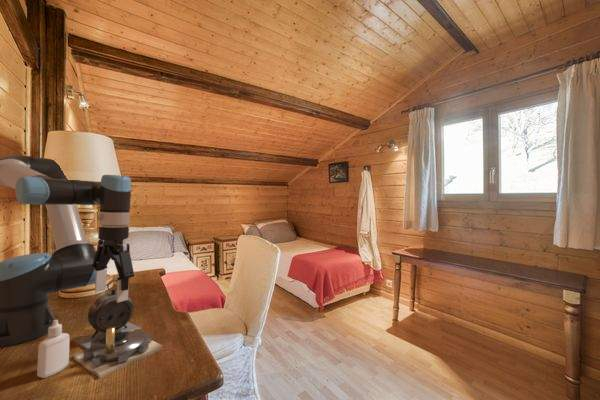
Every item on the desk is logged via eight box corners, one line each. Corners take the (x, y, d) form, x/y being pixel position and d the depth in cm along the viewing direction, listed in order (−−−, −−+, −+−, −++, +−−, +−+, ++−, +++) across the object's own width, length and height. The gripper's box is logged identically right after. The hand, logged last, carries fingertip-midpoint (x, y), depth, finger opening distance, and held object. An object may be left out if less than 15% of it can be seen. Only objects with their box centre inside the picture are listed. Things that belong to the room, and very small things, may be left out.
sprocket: (83, 374, 60) (85, 339, 60) (82, 346, 71) (84, 317, 71) (157, 351, 69) (158, 321, 70) (145, 330, 81) (146, 304, 81)
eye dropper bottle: (70, 369, 63) (72, 319, 63) (37, 381, 59) (39, 327, 59) (67, 362, 66) (69, 314, 66) (35, 372, 62) (38, 321, 62)
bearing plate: (72, 357, 68) (72, 354, 68) (133, 333, 81) (134, 330, 81) (99, 378, 60) (99, 374, 60) (162, 348, 73) (162, 345, 73)
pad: (75, 342, 75) (75, 339, 75) (128, 323, 87) (128, 321, 87) (88, 350, 71) (88, 348, 71) (141, 330, 83) (141, 327, 83)
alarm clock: (128, 325, 85) (130, 274, 85) (135, 330, 82) (137, 278, 82) (86, 337, 76) (88, 282, 77) (91, 344, 73) (93, 286, 73)
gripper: (81, 223, 83) (78, 290, 83) (121, 230, 70) (117, 310, 70) (108, 222, 89) (105, 284, 89) (149, 228, 76) (146, 301, 76)
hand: (110, 295), depth 79 cm, fingers open, 13 cm apart
